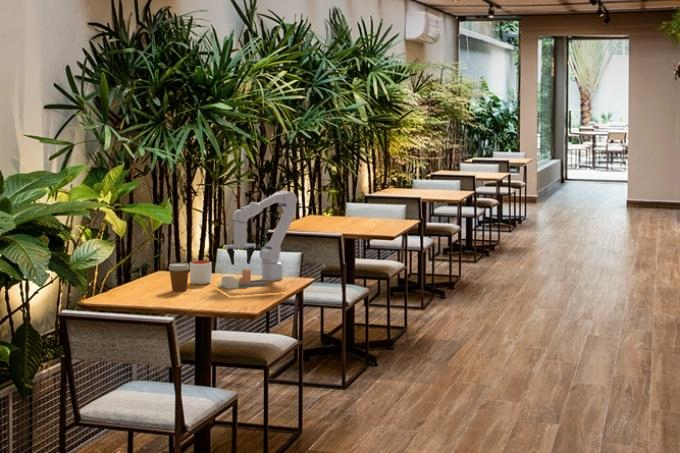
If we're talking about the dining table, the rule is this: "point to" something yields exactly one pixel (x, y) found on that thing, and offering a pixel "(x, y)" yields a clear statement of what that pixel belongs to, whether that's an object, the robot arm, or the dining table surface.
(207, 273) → the cup
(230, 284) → the pitch board
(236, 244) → the robot arm
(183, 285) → the disposable coffee cup
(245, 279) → the figure
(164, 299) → the dining table surface
